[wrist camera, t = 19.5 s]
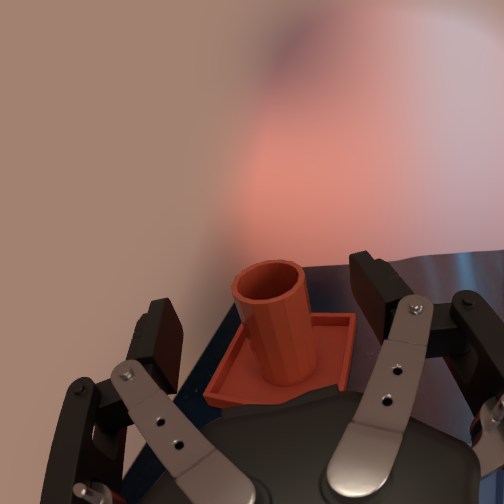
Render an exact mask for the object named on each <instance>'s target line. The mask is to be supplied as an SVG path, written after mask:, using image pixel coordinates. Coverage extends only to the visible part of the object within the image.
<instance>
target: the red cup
mask: <svg viewBox="0 0 504 504" xmlns="http://www.w3.org/2000/svg"><path fill="white" fill-rule="evenodd" d="M231 290H232V295H233V298H234V301H235V304H236V307H237V309H238V312H239V315H240V318H241V321H242V324H243V327H244V330H245V333H246V335H247V338H248V341H249V344H250V347H251V350H252V352H253V355H254V358H255V361H256V364H257V366H258V369H259V372H260V374H261V376H262V377H263V379H264V380H265V381H267V382H268V383H270V384H272V385H275V386H279V387H290V386H295V385H298V384H300V383H302V382H304V381H306V380H307V379H308V378H310V377H311V376H312V374H313V373H314V372H315V370H316V368H317V364H318V358H317V356H318V355H317V348H316V341H315V334H314V327H313V321H312V314H311V308H310V302H309V296H308V290H307V284H306V278H305V273H304V271H303V269H302V268H301V266H299V265H298V264H296V263H294V262H292V261H286V260H269V261H264V262H261V263H257V264H254V265H252V266H250V267H249V268H247V269H245V270H243V271H242V272H241V273H240V274H239V275H237V276H236V277H235V279H234V281H233V283H232V285H231Z"/></svg>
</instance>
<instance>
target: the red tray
mask: <svg viewBox="0 0 504 504" xmlns="http://www.w3.org/2000/svg"><path fill="white" fill-rule="evenodd" d="M311 314H312V321H313V327H314V334H315V341H316V348H317V355H318V356H317V358H318V364H317V368H316V370H315V372H314V373H313V374H312V376H311V377H310V378H308V379H307V380H306V381H304V382H302V383H300V384H298V385H295V386H290V387H279V386H275V385H272V384H270V383H268V382H267V381H265V380H264V379H263V377H262V376H261V374H260V372H259V369H258V366H257V364H256V361H255V358H254V355H253V352H252V350H251V347H250V344H249V341H248V338H247V335H246V333H245V330H244V327H243V324H242V323H241V325H240V327H239V329H238V330H237V332H236V334H235V336H234V338H233V340H232V342H231V344H230V345H229V347H228V349H227V351H226V353H225V355H224V357H223V359H222V360H221V362H220V364H219V366H218V368H217V370H216V372H215V373H214V375H213V377H212V379H211V381H210V383H209V384H208V386H207V388H206V390H205V392H204V394H203V397H204V398H205V400H206V402H207V403H208V405H209V406H212V407H217V408H221V409H222V408H229V407H235V406H241V405H246V404H282V403H284V402H287V401H289V400H291V399H293V398H295V397H297V396H300V395H302V394H304V393H306V392H308V391H311V390H315V389H319V388H323V387H326V386H330V385H333V384H337V385H338V387H339V390H340V391H346V388H347V383H348V377H349V371H350V365H351V359H352V352H353V346H354V339H355V331H356V313H311Z"/></svg>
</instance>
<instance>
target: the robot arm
mask: <svg viewBox="0 0 504 504" xmlns="http://www.w3.org/2000/svg"><path fill="white" fill-rule="evenodd" d="M349 265H350V281H351V289H352V293H353V295H354V298H355V299H356V301H357V303H358V305H359V306H360V308H361V310H362V312H363V313H364V315H365V317H366V319H367V320H368V322H369V324H370V326H371V328H372V329H373V331H374V333H375V335H376V337H377V338H378V340H379V342H380V344H381V346H382V348H381V350H380V353H379V356H378V359H377V361H376V364H375V367H374V369H373V372H372V375H371V377H370V380H369V382H368V385H367V387H366V390H365V392H364V394H363V393H359V392H353V391H340V390H339V387H338V385H337V384H333V385H330V386H326V387H323V388H319V389H315V390H311V391H308V392H306V393H304V394H302V395H300V396H297V397H295V398H293V399H291V400H289V401H287V402H284V403H282V404H246V405H241V406H235V407H229V408H222V409H221V417H220V418H218V419H216V420H213V421H212V422H210V423H208V424H207V425H205V426H204V427H203V428H202V429H200V430H198V429H197V428H196V427H195V426H194V425H193V424H192V423H191V422H190V421H189V420H188V419H187V417H186V416H185V415H184V414H183V413H182V412H181V411H180V410H179V409H178V407H177V406H176V405H175V404H174V403H173V402H172V401H171V399H170V398H169V397H168V394H177V388H178V379H179V370H180V361H181V352H182V344H183V329H182V325H181V323H180V321H179V318H178V316H177V314H176V312H175V310H174V308H173V306H172V304H171V301H170V300H169V298H163V299H158V300H154V301H151V303H150V306H149V310H148V313H145V314H143V315H142V316H141V318H140V319H139V320H138V322H137V324H136V327H135V330H134V331H135V332H134V334H133V339H132V340H131V344H130V347H129V350H128V354H127V357H126V361H123V362H121V363H120V364H119V365H117V366H116V367H115V368H114V370H113V371H112V374H111V378H110V379H107V380H105V381H102V382H99V383H97V384H95V383H94V382H93V381H92V379H90V378H88V377H81V378H79V379H77V380H75V381H74V382H73V383H72V384H71V385H70V386H69V388H68V390H67V393H66V396H65V399H64V402H63V406H62V409H61V413H60V416H59V420H58V423H57V427H56V431H55V435H54V439H53V442H52V446H51V451H50V455H49V460H48V464H47V468H46V474H45V479H44V484H43V489H42V495H41V501H40V504H128V502H127V500H126V499H125V497H124V496H122V495H121V488H122V474H123V462H124V452H125V443H126V434H127V426H129V425H133V424H135V425H136V427H137V428H138V430H139V431H140V433H141V434H142V436H143V437H144V439H145V440H146V441H147V443H148V444H149V446H150V447H151V449H152V450H153V451H154V453H155V454H156V455H157V457H158V458H159V460H160V461H161V462H162V464H163V465H164V466H165V467H166V469H167V470H166V471H165V472H164V473H163V474H162V476H161V477H160V478H159V479H158V480H157V481H156V482H155V484H154V485H153V486H152V487H151V488H150V489H149V491H148V492H147V493H146V494H145V495H144V496H143V497H142V498H141V500H140V501H139V502H138V503H137V504H479V487H480V481H482V480H484V479H485V478H487V477H489V476H491V475H492V474H494V473H496V472H497V471H499V470H501V469H502V470H504V323H503V321H502V320H501V319H500V318H499V317H498V315H497V314H496V313H495V312H494V310H493V309H492V308H491V307H490V306H489V304H488V303H487V302H486V301H485V300H484V299H483V297H482V296H481V295H479V294H478V293H476V292H474V291H470V290H462V291H459V292H457V293H456V294H455V295H454V296H453V299H452V303H443V304H433V303H432V302H431V300H430V299H428V298H427V297H425V296H422V295H416V294H414V293H413V292H412V290H411V289H410V288H409V287H408V285H407V284H406V283H405V282H404V281H403V279H402V278H401V277H399V275H398V273H397V272H396V271H395V270H394V269H393V268H392V266H391V265H390V264H389V263H387V262H386V261H384V260H382V259H376V260H374V259H373V258H372V257H371V255H370V254H369V253H368V252H367V251H361V252H358V253H354V254H350V256H349ZM435 357H443V359H444V361H445V362H446V364H447V366H448V368H449V370H450V371H451V373H452V375H453V377H454V379H455V380H456V382H457V384H458V386H459V388H460V390H461V392H462V394H463V396H464V398H465V400H466V401H467V403H468V405H469V407H470V409H471V411H472V414H473V416H474V420H473V421H472V423H471V426H470V436H471V440H472V445H471V447H470V446H469V445H468V444H466V443H465V442H463V441H461V440H459V439H457V438H455V437H453V436H451V435H448V434H446V433H444V432H442V431H440V430H438V429H436V428H433V427H431V426H429V425H427V424H425V423H423V422H421V421H419V420H417V419H415V418H413V417H411V416H410V413H411V410H412V407H413V403H414V400H415V396H416V393H417V389H418V385H419V381H420V377H421V373H422V369H423V364H424V360H425V358H435ZM94 426H95V431H94V435H93V440H92V433H93V427H94Z"/></svg>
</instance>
